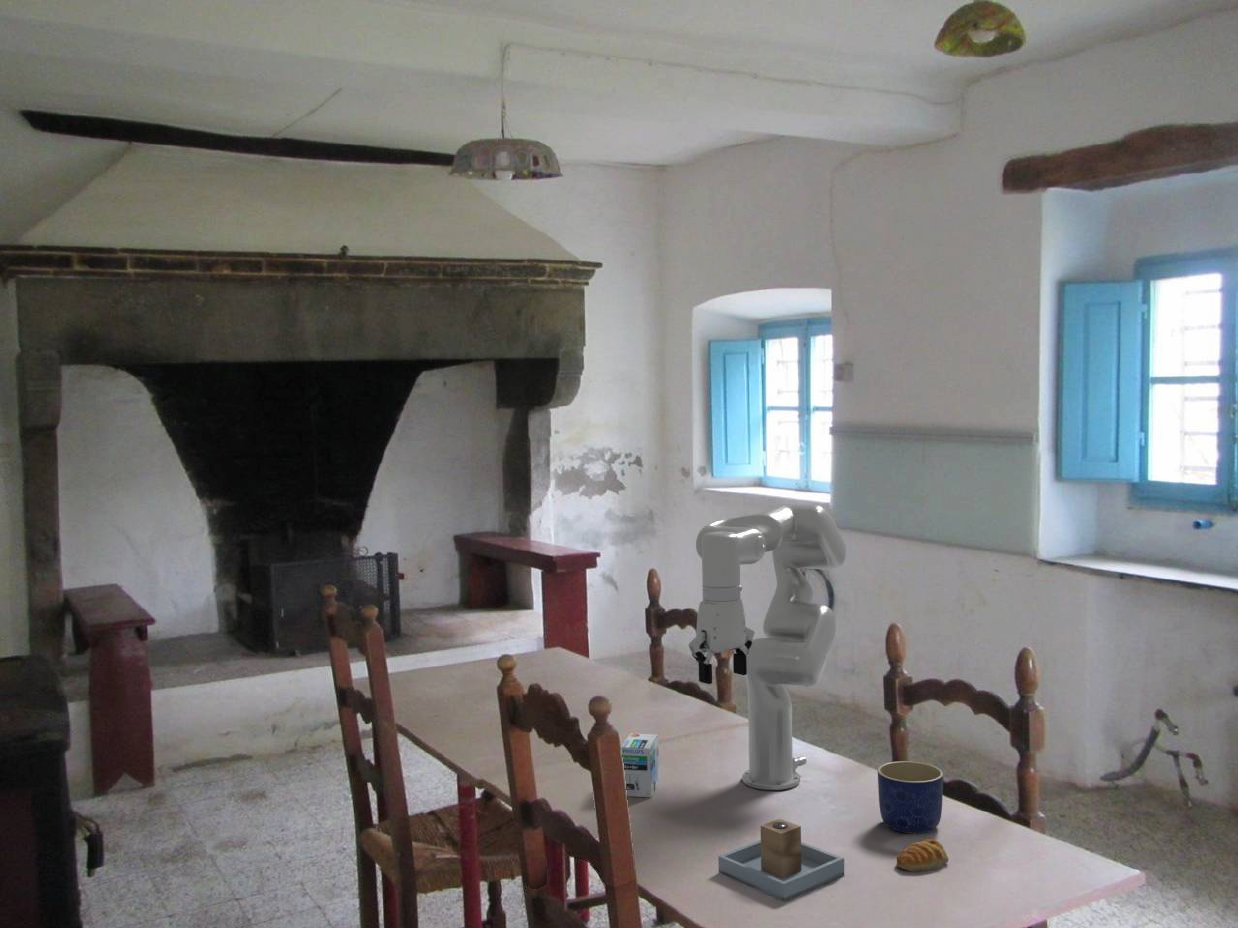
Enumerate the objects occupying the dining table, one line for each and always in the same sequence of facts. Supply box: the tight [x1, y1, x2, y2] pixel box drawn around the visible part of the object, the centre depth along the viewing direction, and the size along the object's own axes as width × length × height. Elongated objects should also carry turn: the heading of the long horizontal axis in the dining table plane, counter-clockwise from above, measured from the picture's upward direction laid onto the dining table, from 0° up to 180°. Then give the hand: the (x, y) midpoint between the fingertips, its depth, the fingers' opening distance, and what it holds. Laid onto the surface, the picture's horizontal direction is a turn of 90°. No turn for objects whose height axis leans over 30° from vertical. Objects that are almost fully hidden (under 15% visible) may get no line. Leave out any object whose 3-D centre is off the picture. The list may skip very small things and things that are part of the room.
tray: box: [717, 839, 845, 903], centre depth 197 cm, size 16×16×3 cm
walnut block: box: [760, 818, 802, 879], centre depth 197 cm, size 5×5×8 cm
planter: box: [877, 760, 944, 834], centre depth 217 cm, size 12×12×11 cm
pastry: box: [896, 838, 950, 872], centre depth 200 cm, size 9×7×4 cm
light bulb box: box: [620, 732, 660, 798], centre depth 242 cm, size 11×7×11 cm, turn 168°
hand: (723, 678), depth 223 cm, fingers open, 9 cm apart
